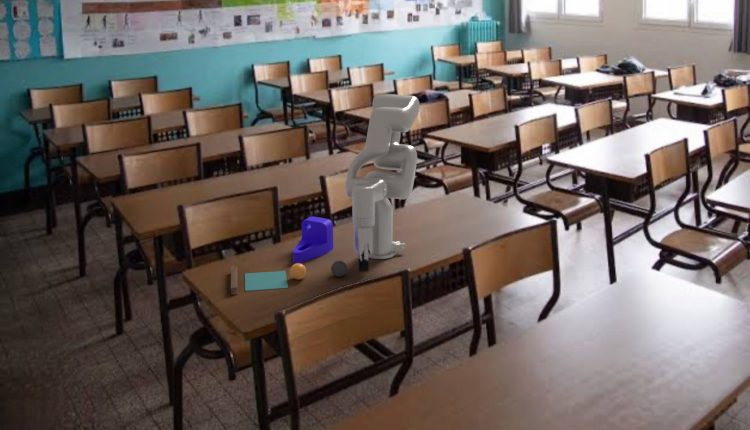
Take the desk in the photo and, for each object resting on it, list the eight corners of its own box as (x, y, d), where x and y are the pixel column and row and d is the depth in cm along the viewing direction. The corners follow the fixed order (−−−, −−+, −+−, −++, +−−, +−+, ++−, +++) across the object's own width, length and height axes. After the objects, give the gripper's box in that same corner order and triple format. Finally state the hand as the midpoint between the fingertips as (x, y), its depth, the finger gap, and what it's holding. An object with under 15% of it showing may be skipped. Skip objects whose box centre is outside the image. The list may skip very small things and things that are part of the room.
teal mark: (285, 271, 253) (285, 270, 253) (288, 288, 240) (288, 287, 240) (244, 274, 251) (244, 273, 251) (245, 291, 238) (245, 290, 238)
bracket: (308, 244, 278) (307, 215, 274) (333, 249, 273) (332, 219, 269) (282, 260, 262) (281, 230, 258) (308, 266, 258) (307, 235, 254)
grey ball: (345, 272, 253) (345, 257, 251) (348, 278, 247) (348, 263, 246) (330, 273, 252) (329, 258, 250) (332, 279, 247) (331, 264, 245)
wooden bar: (237, 272, 252) (237, 265, 251) (237, 294, 235) (237, 287, 235) (231, 272, 252) (231, 266, 251) (231, 294, 235) (230, 287, 234)
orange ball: (305, 274, 250) (305, 260, 248) (307, 281, 245) (306, 266, 243) (289, 276, 249) (289, 261, 247) (290, 282, 244) (290, 267, 242)
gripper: (349, 213, 250) (349, 262, 256) (356, 228, 237) (356, 279, 242) (370, 212, 252) (369, 261, 258) (378, 226, 238) (378, 277, 244)
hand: (363, 270), depth 250 cm, fingers closed
